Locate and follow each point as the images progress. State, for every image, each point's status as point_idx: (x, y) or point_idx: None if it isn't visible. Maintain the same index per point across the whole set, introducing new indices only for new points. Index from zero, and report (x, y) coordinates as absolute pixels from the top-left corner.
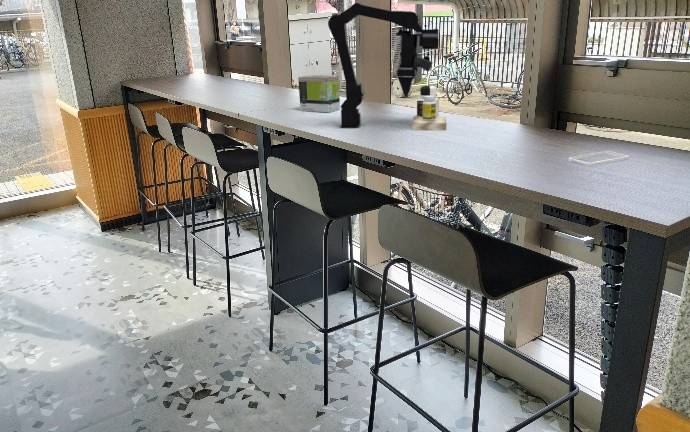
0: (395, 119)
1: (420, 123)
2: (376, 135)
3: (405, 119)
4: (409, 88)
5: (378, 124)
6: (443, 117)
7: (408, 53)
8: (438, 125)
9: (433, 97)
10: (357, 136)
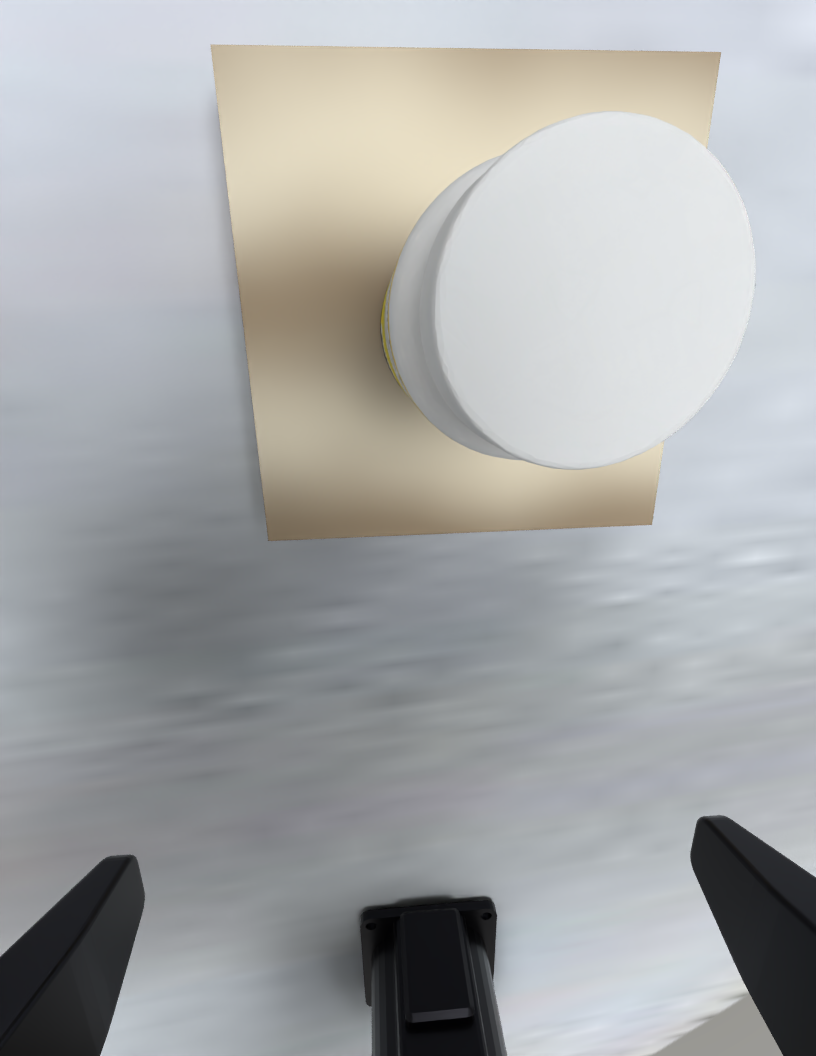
0: (72, 704)
1: None
2: (778, 740)
3: (49, 615)
4: (85, 955)
5: (342, 796)
6: (278, 96)
7: None
8: None
9: (714, 171)
10: (782, 842)
